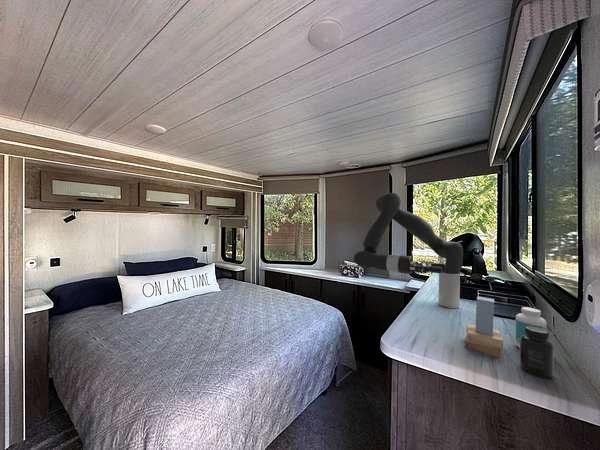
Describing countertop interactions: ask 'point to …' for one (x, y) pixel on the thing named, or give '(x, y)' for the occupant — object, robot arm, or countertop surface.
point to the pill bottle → (528, 322)
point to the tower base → (482, 348)
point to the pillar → (484, 315)
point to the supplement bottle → (537, 352)
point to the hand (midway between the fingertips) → (443, 268)
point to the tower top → (484, 337)
